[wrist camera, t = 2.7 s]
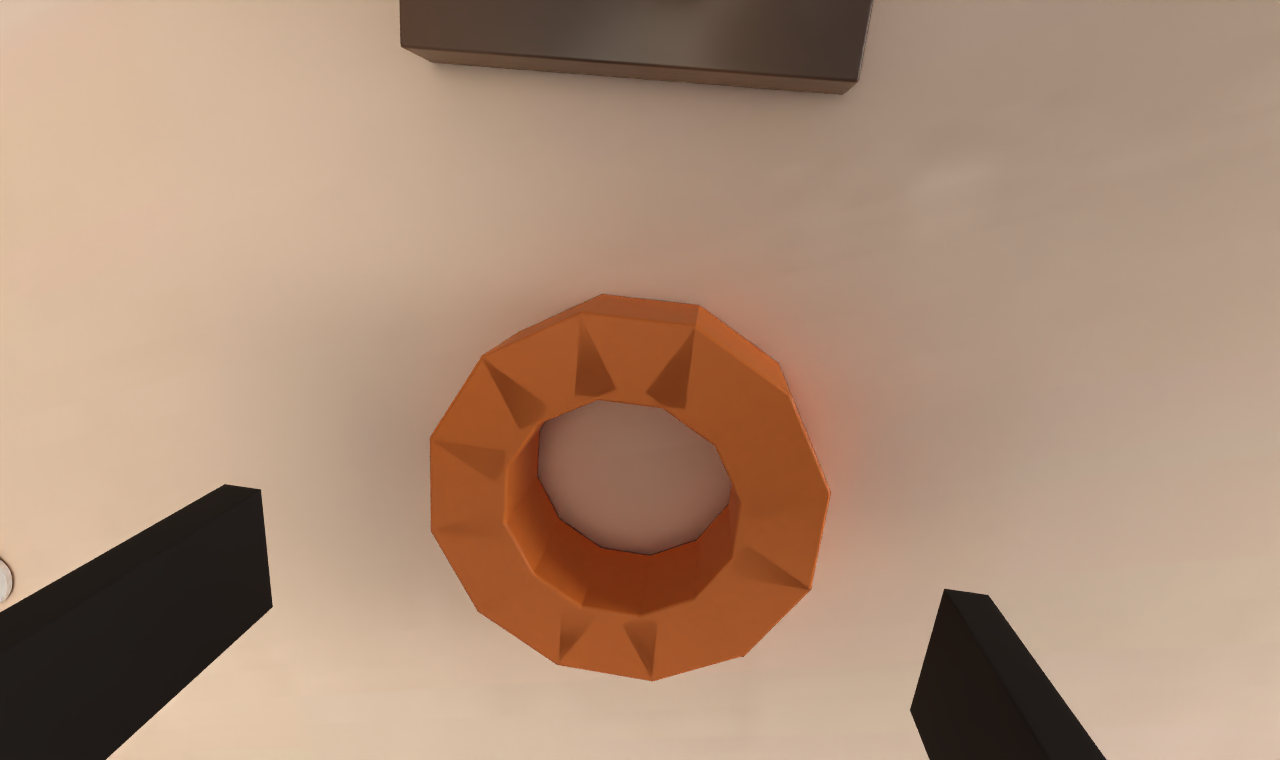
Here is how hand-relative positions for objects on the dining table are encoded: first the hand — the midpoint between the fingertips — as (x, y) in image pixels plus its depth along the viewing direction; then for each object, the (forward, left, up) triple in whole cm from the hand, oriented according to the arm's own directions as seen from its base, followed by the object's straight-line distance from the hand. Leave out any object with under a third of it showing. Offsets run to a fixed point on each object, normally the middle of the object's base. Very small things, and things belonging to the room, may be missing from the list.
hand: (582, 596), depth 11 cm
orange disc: (0, 0, -6) cm, 6 cm away
